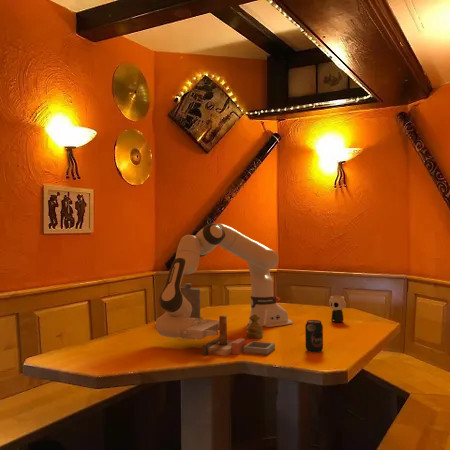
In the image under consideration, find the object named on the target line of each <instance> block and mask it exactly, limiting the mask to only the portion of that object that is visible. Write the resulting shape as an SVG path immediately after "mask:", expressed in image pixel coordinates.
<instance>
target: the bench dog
mask: <svg viewBox="0 0 450 450" xmlns="http://www.w3.org/2000/svg"><path fill="white" fill-rule="evenodd" d="M232 341H233V342H232V343H231V354H230V355H240V354H242V353H243V347H244V346H245V345H246V338H240V337H239V338H237V339H235V340H232Z"/></svg>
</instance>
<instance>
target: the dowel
mask: <svg viewBox="0 0 450 450" xmlns="http://www.w3.org/2000/svg"><path fill="white" fill-rule="evenodd" d="M218 317H219V318H218V319H219V320H218V321H219V330H218V331H219V337H220V345H223V346H226V345H227V340H228V316H227V315H219V316H218Z"/></svg>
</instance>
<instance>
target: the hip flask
mask: <svg viewBox="0 0 450 450" xmlns="http://www.w3.org/2000/svg"><path fill="white" fill-rule="evenodd" d="M192 285H193V283H190V282H189V283H184V286H180V289H181V292H182V294H183V296H184V297H185V298H186V299H187V300H188V301H189V302H190V304H191V305H192V313H191V316H190V318H199V317H201V289H200V288H194V287H192Z"/></svg>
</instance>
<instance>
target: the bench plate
mask: <svg viewBox="0 0 450 450" xmlns="http://www.w3.org/2000/svg"><path fill="white" fill-rule="evenodd" d="M233 341H234V340H228V339H227V345H226V346H223V345H220V342H218V343H216V344H214V345H212V346H211V347H209V348H208V355H215V356H216V355H217V356H225V357H229V356H231V355H232V354H231V343H232V342H233Z"/></svg>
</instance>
